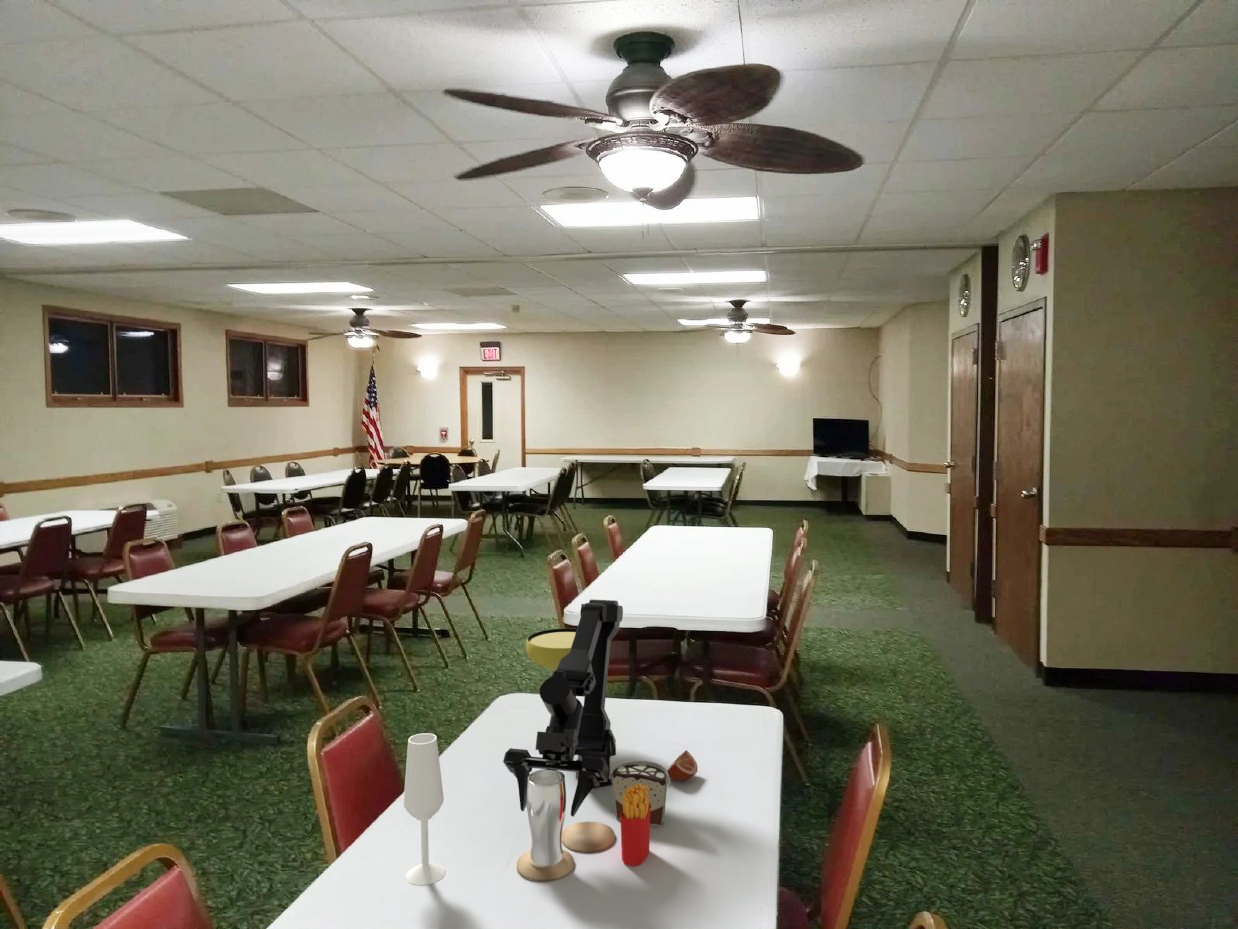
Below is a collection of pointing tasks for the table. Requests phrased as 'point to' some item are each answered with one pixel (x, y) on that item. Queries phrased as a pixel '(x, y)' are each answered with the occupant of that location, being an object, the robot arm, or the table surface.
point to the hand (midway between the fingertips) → (546, 813)
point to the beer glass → (546, 817)
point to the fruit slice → (683, 767)
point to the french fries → (635, 825)
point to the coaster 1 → (544, 874)
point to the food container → (644, 775)
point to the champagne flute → (423, 799)
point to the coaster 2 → (588, 836)
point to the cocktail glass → (550, 646)
